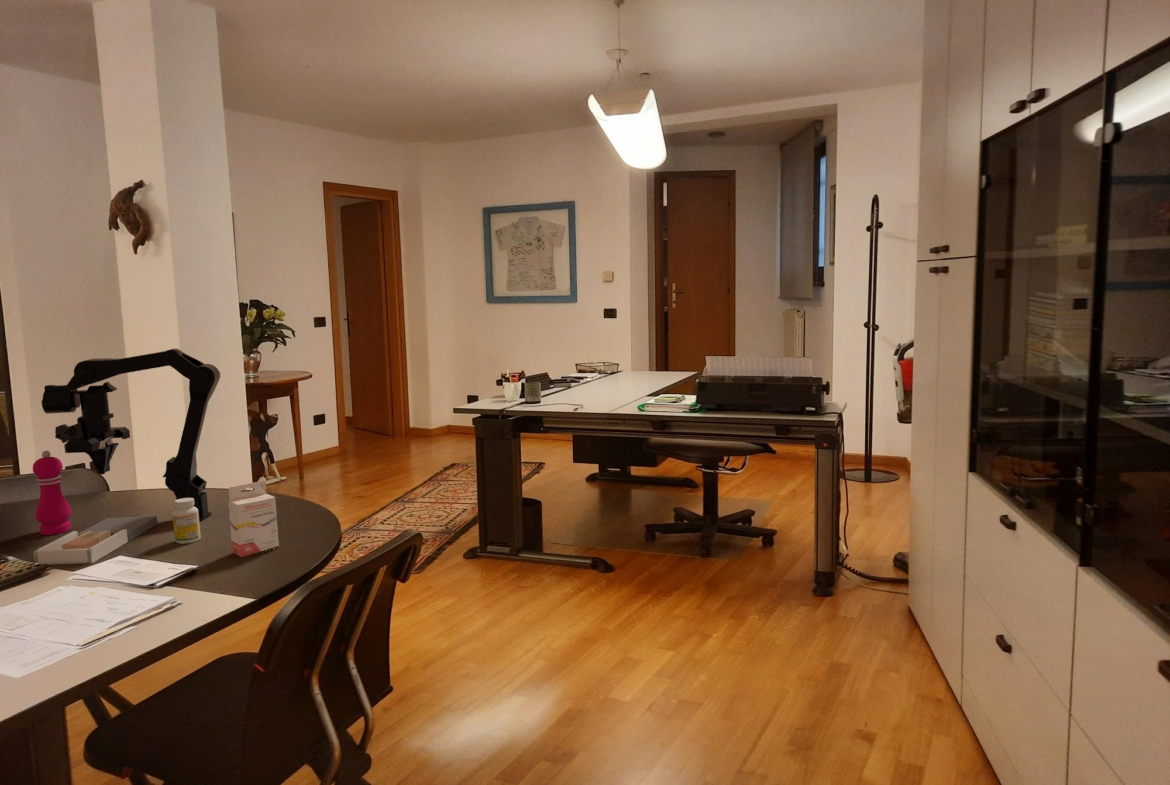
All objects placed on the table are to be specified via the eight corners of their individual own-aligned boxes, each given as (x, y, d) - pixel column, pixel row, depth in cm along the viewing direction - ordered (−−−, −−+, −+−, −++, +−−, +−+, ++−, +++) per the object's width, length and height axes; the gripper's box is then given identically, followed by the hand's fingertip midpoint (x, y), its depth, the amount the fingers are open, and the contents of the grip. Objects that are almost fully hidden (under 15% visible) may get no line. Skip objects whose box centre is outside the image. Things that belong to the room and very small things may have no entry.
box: (127, 541, 183) (126, 529, 183) (92, 563, 169) (90, 549, 169) (75, 543, 183) (73, 531, 182) (35, 565, 169) (33, 551, 169)
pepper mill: (55, 536, 189) (45, 454, 186) (30, 535, 190) (19, 453, 188) (80, 527, 196) (70, 447, 193) (55, 526, 197) (45, 447, 195)
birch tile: (111, 541, 183) (110, 530, 182) (98, 548, 178) (96, 537, 177) (90, 541, 183) (89, 531, 183) (76, 548, 178) (74, 538, 178)
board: (157, 524, 196) (156, 516, 196) (129, 541, 184) (128, 532, 183) (108, 525, 196) (107, 518, 196) (76, 543, 183) (75, 534, 183)
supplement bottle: (194, 543, 180) (190, 502, 179) (170, 544, 180) (166, 503, 179) (205, 536, 186) (201, 496, 184) (181, 537, 185) (177, 497, 184)
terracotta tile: (100, 548, 178) (98, 537, 177) (85, 555, 173) (84, 544, 173) (78, 548, 178) (76, 537, 178) (63, 556, 173) (61, 545, 173)
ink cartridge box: (241, 558, 170) (234, 491, 168) (232, 553, 173) (225, 487, 171) (280, 548, 176) (274, 483, 174) (270, 543, 179) (265, 479, 177)
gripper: (82, 406, 201) (88, 466, 203) (37, 418, 182) (44, 485, 185) (127, 404, 202) (134, 465, 204) (87, 417, 183) (94, 483, 185)
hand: (102, 474), depth 194 cm, fingers closed
